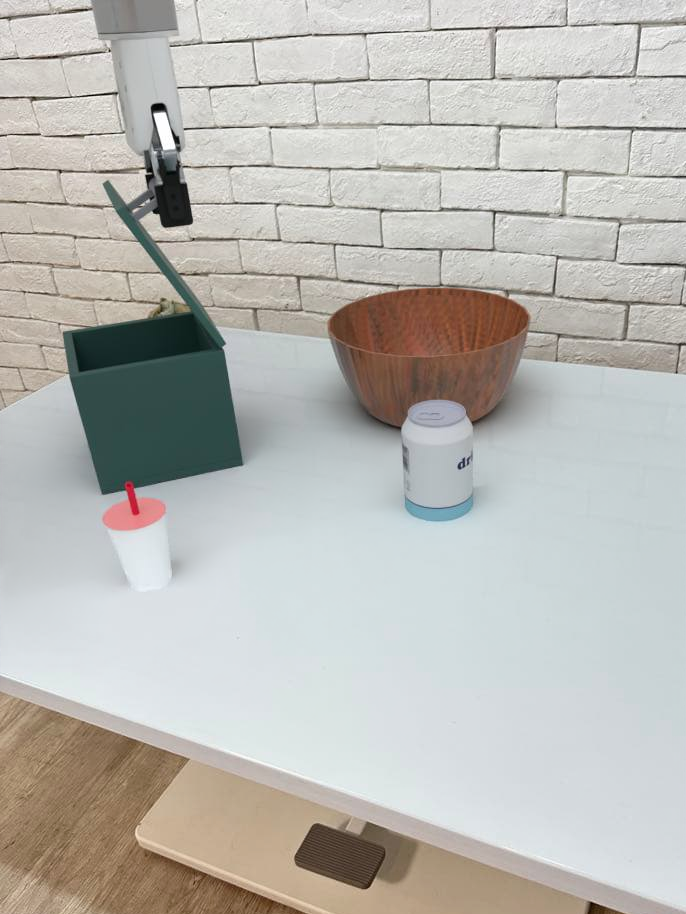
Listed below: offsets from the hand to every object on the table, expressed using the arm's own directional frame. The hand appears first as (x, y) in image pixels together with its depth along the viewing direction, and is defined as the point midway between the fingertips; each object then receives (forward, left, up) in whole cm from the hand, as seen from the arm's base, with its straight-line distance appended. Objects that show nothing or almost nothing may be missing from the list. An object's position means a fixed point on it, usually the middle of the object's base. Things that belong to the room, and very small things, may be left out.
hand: (172, 217), depth 90 cm
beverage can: (+18, -28, -27) cm, 43 cm away
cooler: (-6, 0, -26) cm, 27 cm away
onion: (+1, +36, -27) cm, 45 cm away
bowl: (+28, -2, -27) cm, 39 cm away
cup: (-11, -29, -27) cm, 41 cm away
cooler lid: (-2, 0, -5) cm, 5 cm away
